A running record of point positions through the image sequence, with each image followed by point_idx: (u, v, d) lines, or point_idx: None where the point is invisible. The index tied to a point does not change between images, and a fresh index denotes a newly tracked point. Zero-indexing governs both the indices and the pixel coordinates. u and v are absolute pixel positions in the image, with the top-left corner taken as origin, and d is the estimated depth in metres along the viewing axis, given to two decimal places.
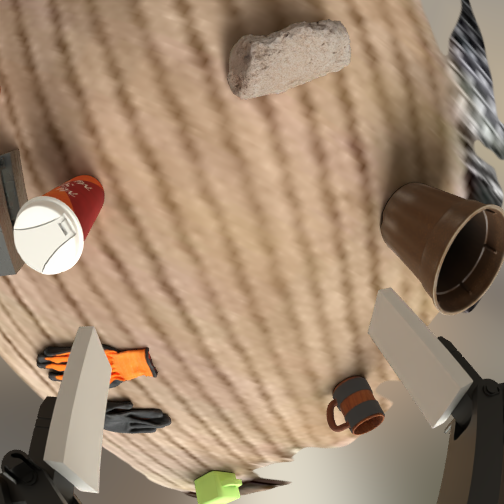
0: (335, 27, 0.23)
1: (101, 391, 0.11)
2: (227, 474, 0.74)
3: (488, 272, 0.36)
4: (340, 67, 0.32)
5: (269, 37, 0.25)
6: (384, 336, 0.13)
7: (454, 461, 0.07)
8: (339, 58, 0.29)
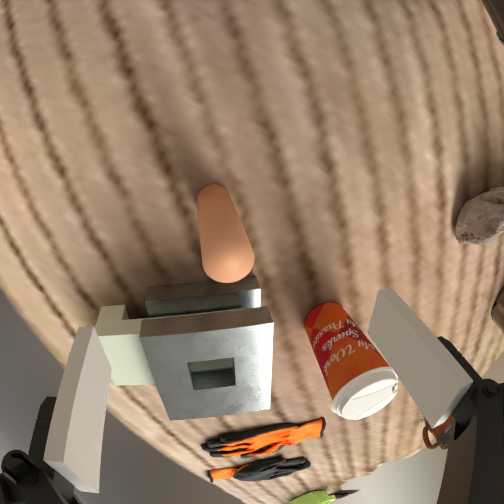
0: None
1: (101, 391, 0.11)
2: (321, 492, 0.79)
3: None
4: None
5: None
6: (384, 336, 0.13)
7: (454, 461, 0.07)
8: None
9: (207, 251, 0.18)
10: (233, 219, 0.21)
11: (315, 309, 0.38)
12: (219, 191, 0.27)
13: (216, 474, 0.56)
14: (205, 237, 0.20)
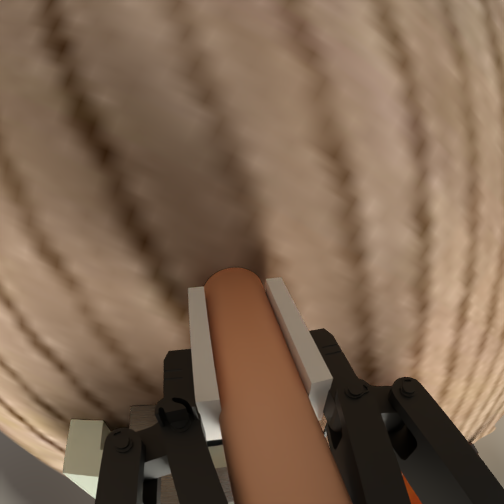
0: None
1: None
2: None
3: None
4: None
5: None
6: None
7: (342, 474, 0.08)
8: None
9: None
10: (302, 420, 0.08)
11: None
12: (249, 295, 0.13)
13: None
14: (244, 487, 0.06)
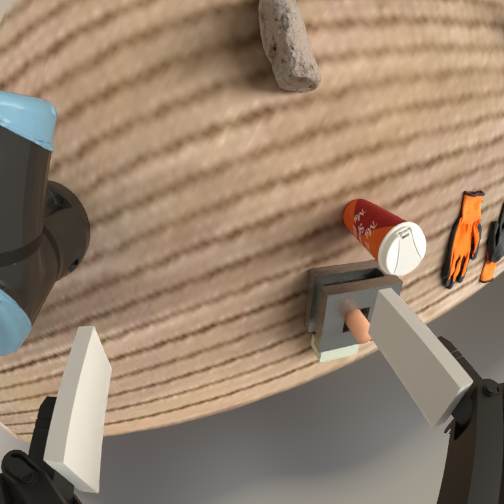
0: (282, 6, 0.24)
1: (101, 391, 0.11)
2: None
3: None
4: None
5: (288, 60, 0.29)
6: (384, 336, 0.13)
7: (454, 461, 0.07)
8: (292, 1, 0.28)
9: (360, 334, 0.44)
10: (363, 316, 0.47)
11: (345, 225, 0.49)
12: None
13: (485, 276, 0.64)
14: (356, 327, 0.45)
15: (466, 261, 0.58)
